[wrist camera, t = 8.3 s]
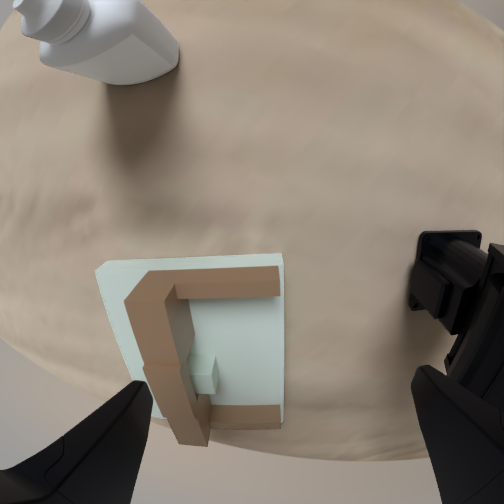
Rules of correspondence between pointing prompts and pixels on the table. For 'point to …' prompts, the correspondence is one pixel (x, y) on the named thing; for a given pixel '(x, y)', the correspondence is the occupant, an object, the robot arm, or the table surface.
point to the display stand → (211, 331)
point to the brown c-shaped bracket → (180, 340)
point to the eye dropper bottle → (100, 38)
